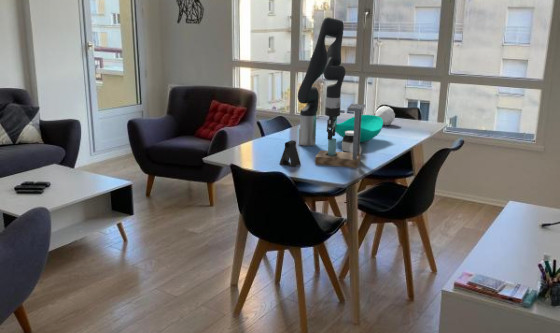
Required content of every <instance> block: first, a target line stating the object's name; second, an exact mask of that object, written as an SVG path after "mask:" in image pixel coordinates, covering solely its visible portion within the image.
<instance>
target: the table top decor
mask: <svg viewBox="0 0 560 333" xmlns="http://www.w3.org/2000/svg"><path fill="white" fill-rule="evenodd" d="M354 118H355V116H353V117H350V118H348V119H346V120H345V121H343V122H340V123H337V127H336V129H335V134H337V135H338V136H340V137H341V138H343V137H344V136H345V132H346V131H354ZM383 126H384V125H383V120H382V118H381V117H379V116H375V114H362V116H361V135H360V143H364V142H367V141H370V140H372V139H374V138H375V137H376V136H378V135H379V134H380V133H381V131H382V128H383Z"/></svg>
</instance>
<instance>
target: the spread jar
mask: <svg viewBox="0 0 560 333" xmlns="http://www.w3.org/2000/svg"><path fill="white" fill-rule="evenodd" d="M353 137H354V131H346V132H345V136H344V137H342V141H341V150H342V151H341V152H349V153H353ZM361 146H362V145H360V153H362V147H361Z"/></svg>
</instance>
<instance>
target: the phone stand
mask: <svg viewBox="0 0 560 333" xmlns="http://www.w3.org/2000/svg"><path fill="white" fill-rule="evenodd" d="M298 153H299V152H298V148H297V141H296V140H293V139H292V140H288V141H286V142H284V149H283V152H282V154H281V158H280V161H279V165H280V166H286V167H292V168H296V167H299V166H300V165H301V163H302V162H301V159H300V156H299V154H298Z"/></svg>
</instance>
